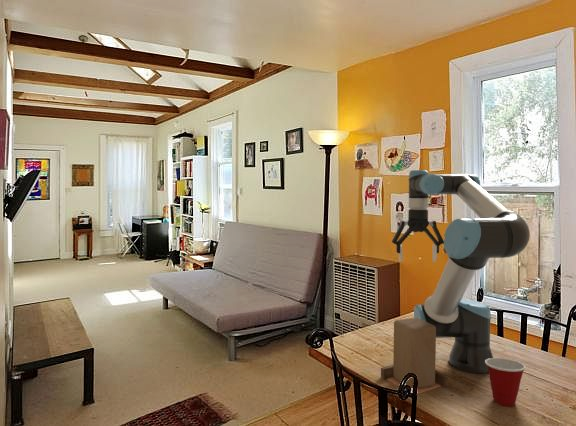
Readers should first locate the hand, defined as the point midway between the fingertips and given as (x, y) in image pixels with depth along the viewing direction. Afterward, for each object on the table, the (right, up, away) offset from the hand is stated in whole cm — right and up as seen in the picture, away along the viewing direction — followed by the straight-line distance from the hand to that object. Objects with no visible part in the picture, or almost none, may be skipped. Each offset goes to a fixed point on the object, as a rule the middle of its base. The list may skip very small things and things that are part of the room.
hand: (417, 261), depth 166 cm
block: (-11, -37, -31) cm, 49 cm away
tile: (-11, -37, -31) cm, 49 cm away
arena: (-11, -37, -31) cm, 49 cm away
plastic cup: (+13, -37, -42) cm, 58 cm away
